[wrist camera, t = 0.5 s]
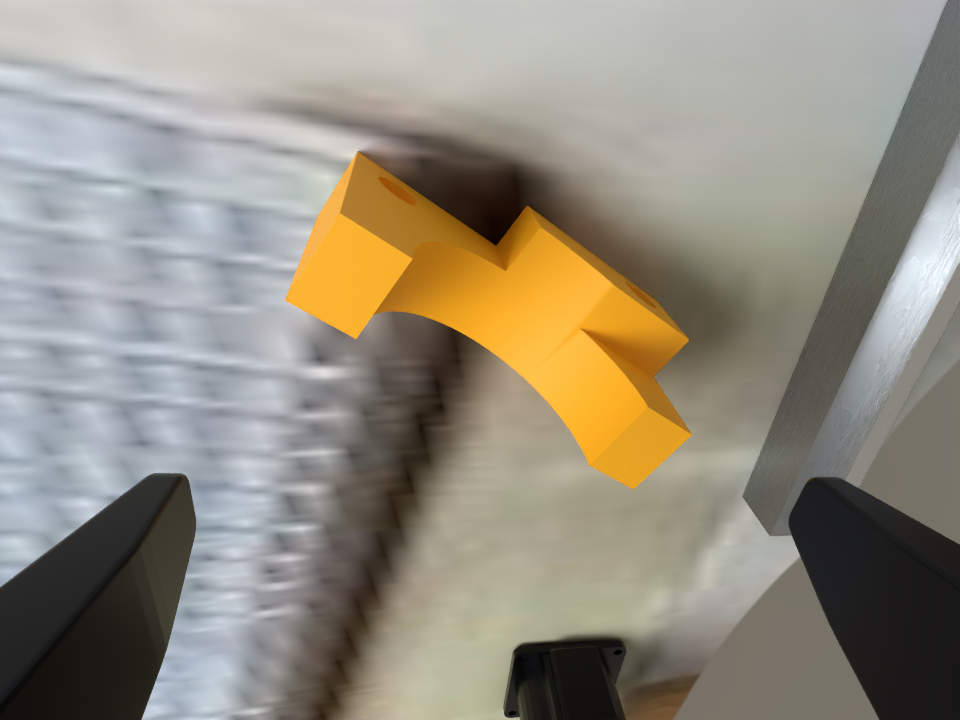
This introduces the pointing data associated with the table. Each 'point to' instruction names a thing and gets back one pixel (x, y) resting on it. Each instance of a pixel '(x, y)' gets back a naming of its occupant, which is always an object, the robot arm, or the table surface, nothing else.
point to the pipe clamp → (504, 309)
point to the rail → (876, 300)
